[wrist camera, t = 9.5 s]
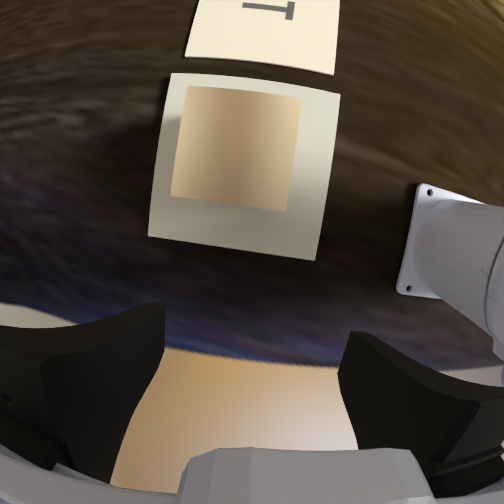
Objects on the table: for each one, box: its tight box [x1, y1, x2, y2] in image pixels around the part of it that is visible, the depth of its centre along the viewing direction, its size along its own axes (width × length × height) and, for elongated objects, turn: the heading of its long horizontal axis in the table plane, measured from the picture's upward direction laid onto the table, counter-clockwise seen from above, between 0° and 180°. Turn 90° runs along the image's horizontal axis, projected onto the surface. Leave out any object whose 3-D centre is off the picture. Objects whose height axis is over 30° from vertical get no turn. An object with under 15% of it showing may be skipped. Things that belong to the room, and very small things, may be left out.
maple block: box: [170, 86, 302, 212], centre depth 15 cm, size 5×5×6 cm
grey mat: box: [148, 73, 340, 261], centre depth 18 cm, size 11×11×1 cm
